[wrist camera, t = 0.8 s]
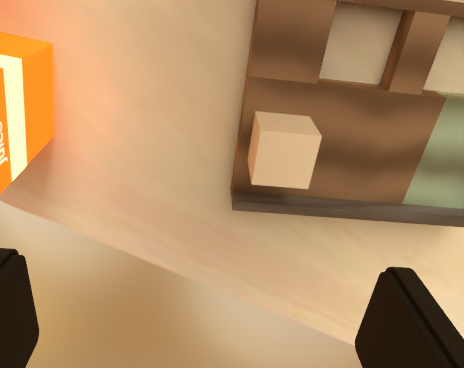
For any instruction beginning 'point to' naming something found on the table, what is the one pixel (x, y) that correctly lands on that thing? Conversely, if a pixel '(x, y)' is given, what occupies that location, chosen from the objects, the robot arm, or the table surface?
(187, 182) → the table surface
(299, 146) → the block
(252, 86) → the board
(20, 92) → the orange juice
